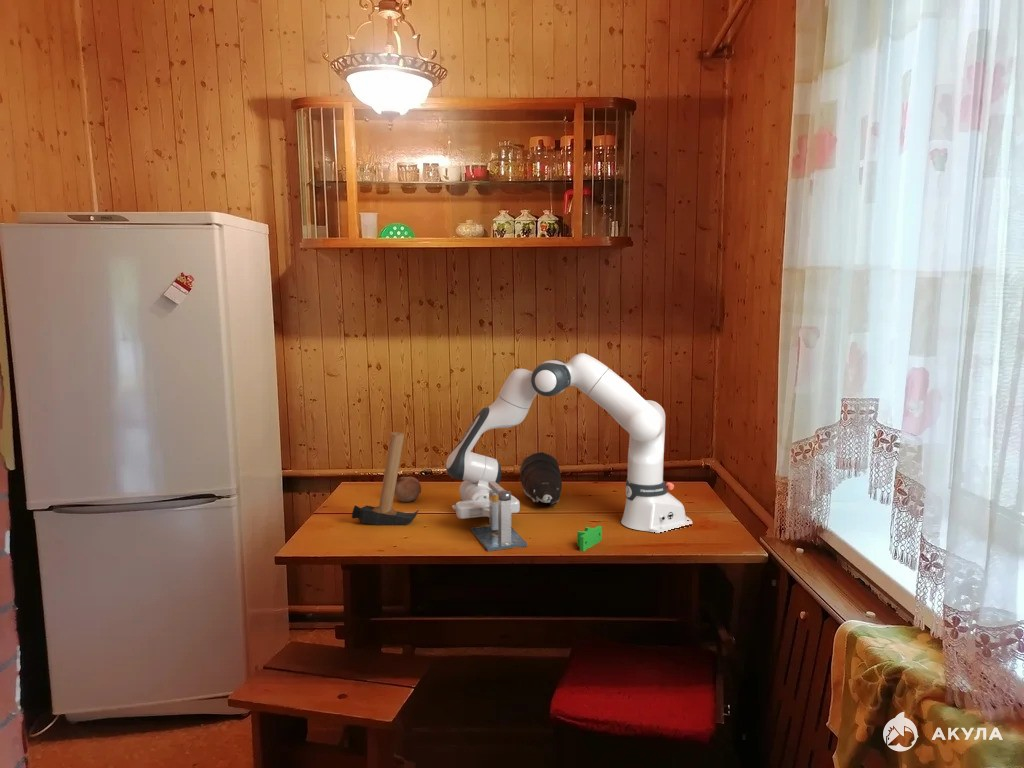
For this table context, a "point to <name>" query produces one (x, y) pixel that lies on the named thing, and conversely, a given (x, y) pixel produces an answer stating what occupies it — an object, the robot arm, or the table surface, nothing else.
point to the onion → (407, 489)
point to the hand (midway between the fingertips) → (494, 515)
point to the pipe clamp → (589, 537)
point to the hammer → (387, 492)
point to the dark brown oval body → (541, 478)
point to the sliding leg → (493, 510)
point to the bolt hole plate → (491, 539)
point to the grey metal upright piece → (503, 512)
